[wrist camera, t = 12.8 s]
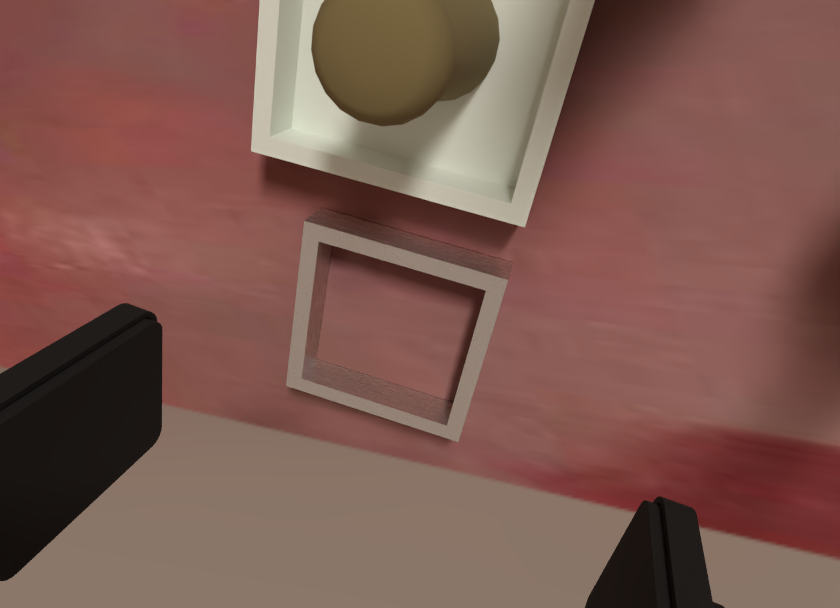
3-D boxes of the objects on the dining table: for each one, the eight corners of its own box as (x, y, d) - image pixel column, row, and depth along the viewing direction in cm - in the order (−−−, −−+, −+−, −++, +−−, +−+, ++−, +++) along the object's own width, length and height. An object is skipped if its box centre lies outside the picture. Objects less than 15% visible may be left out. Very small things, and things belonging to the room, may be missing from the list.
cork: (400, 114, 31) (320, 163, 22) (364, -9, 29) (258, -14, 20) (512, 83, 29) (477, 122, 20) (483, -52, 27) (428, -81, 18)
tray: (630, -118, 25) (636, -135, 22) (530, 206, 33) (524, 227, 30) (306, -184, 27) (271, -208, 24) (280, 138, 35) (250, 151, 31)
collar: (512, 262, 34) (508, 280, 32) (464, 418, 40) (458, 442, 38) (321, 207, 36) (304, 220, 34) (301, 366, 42) (286, 385, 40)
